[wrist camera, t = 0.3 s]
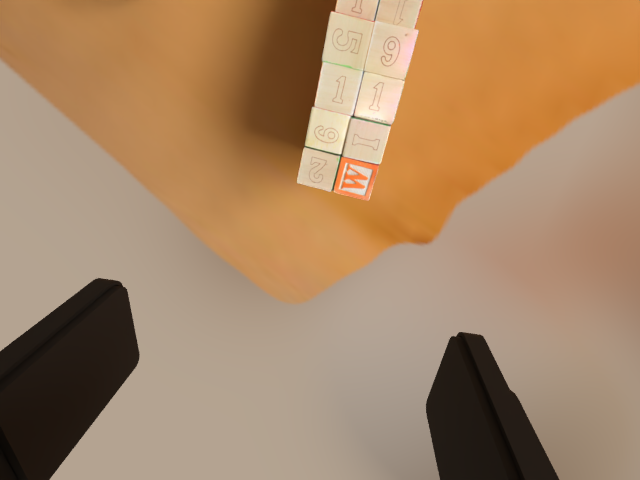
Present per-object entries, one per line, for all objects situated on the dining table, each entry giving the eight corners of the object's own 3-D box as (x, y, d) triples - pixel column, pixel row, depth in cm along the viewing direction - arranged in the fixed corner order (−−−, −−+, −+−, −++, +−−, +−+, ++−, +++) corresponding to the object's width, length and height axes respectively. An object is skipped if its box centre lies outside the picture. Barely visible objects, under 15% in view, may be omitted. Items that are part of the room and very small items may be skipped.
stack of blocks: (364, -89, 28) (369, -196, 17) (434, -71, 29) (483, -166, 17) (312, 154, 38) (294, 184, 27) (365, 167, 38) (368, 203, 27)
